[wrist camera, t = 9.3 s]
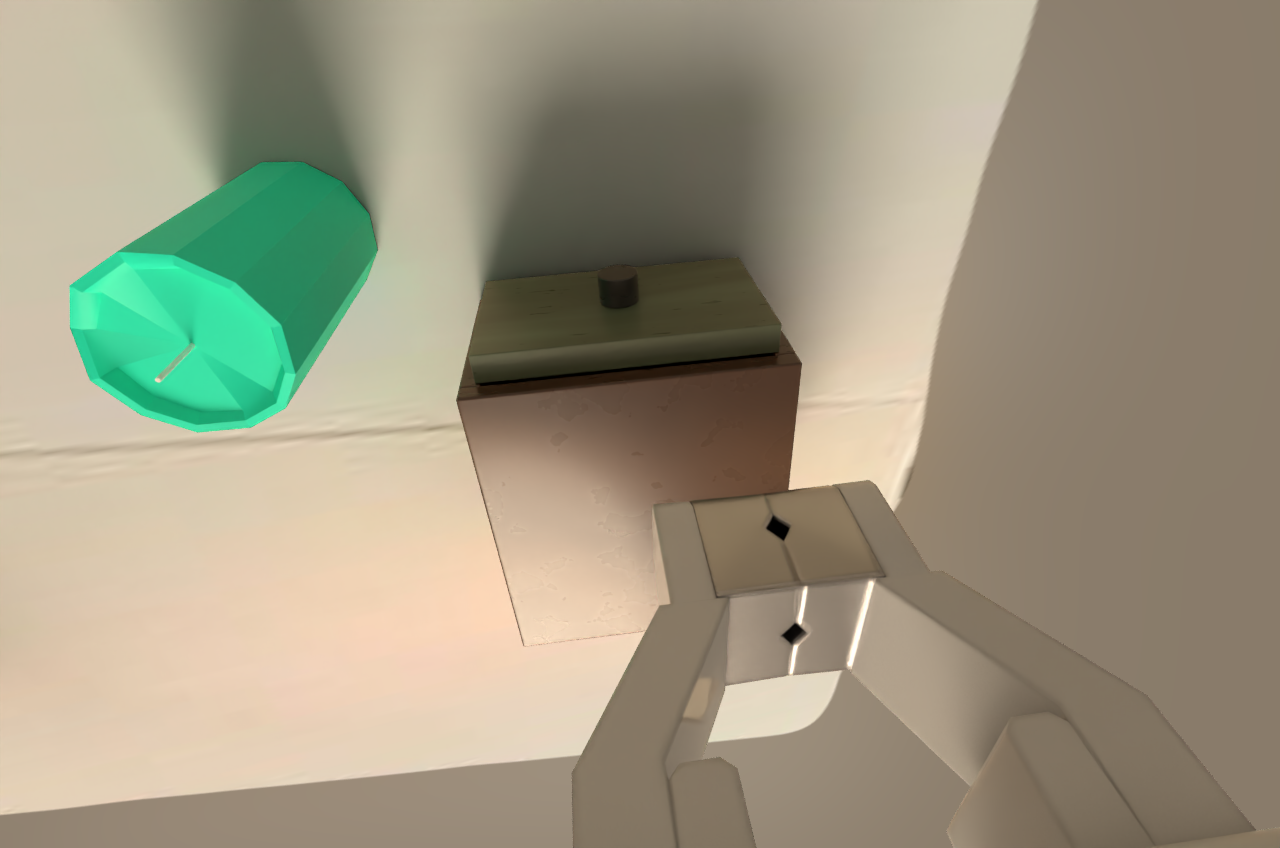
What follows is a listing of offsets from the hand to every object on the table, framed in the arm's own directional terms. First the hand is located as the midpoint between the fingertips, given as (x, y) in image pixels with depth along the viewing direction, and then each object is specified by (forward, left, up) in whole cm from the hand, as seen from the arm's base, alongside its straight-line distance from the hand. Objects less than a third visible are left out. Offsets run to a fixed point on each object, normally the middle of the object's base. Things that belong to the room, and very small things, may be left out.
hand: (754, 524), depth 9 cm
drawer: (+11, -1, -21) cm, 23 cm away
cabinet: (+13, -1, -22) cm, 25 cm away
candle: (+2, -14, -22) cm, 26 cm away
